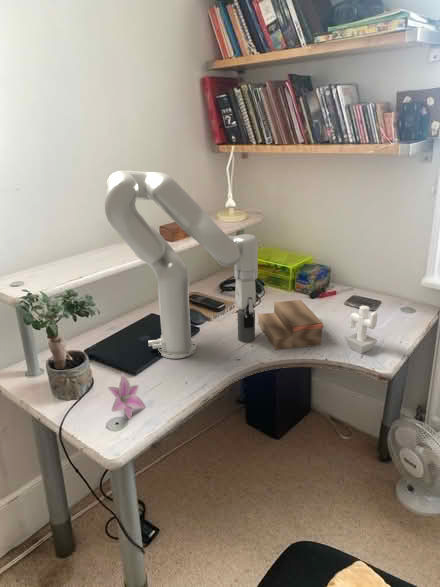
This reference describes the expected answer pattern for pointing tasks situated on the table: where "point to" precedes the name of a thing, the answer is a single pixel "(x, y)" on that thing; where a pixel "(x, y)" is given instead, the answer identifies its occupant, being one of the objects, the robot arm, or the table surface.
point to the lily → (126, 397)
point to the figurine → (362, 330)
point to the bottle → (245, 333)
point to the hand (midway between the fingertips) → (246, 322)
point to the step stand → (291, 325)
